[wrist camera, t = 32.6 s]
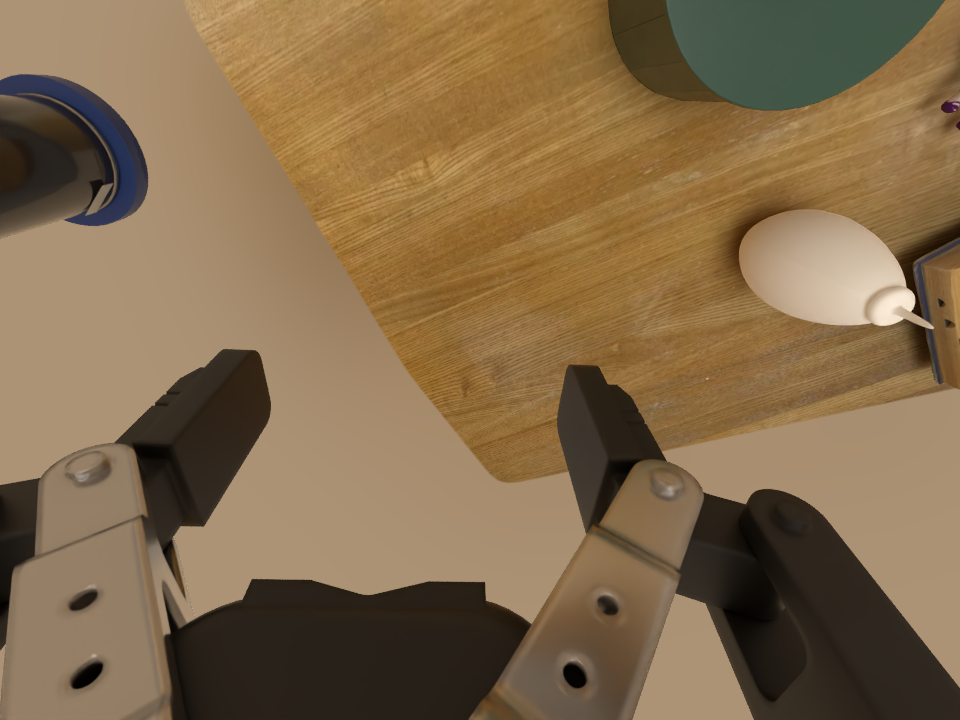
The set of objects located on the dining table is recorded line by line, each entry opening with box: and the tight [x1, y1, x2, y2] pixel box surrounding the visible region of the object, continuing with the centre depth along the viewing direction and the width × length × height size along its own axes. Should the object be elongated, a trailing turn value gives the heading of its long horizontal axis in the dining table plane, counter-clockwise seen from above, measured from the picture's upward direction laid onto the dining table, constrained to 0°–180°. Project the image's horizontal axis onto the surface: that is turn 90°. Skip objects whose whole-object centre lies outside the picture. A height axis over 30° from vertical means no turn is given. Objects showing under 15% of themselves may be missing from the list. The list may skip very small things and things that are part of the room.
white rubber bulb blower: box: [739, 209, 934, 329], centre depth 33 cm, size 8×8×18 cm
